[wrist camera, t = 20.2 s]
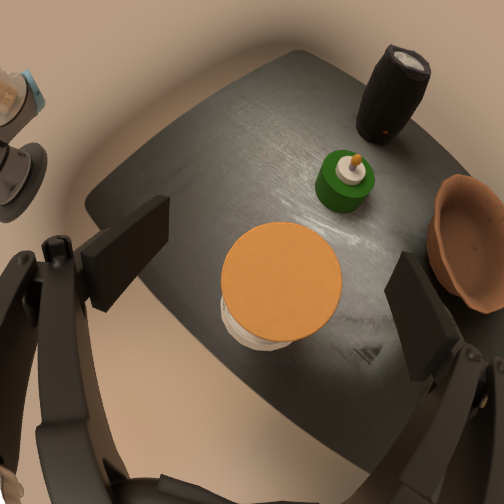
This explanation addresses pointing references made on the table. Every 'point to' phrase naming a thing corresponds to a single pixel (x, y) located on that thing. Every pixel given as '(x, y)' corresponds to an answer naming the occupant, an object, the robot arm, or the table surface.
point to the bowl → (468, 242)
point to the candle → (344, 181)
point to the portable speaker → (392, 94)
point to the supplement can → (247, 333)
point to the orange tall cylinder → (281, 281)
